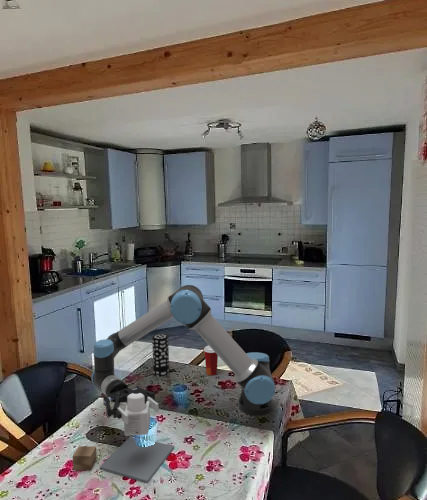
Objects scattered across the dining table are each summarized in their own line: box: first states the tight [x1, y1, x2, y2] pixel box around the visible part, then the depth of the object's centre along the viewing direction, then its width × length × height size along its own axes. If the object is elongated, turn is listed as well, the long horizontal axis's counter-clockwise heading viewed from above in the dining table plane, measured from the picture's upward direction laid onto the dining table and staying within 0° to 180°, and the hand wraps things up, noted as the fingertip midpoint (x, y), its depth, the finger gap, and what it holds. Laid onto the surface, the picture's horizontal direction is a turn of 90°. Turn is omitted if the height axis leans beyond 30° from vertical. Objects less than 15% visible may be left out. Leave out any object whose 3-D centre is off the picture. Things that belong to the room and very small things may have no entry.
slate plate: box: [99, 435, 175, 484], centre depth 123 cm, size 18×18×1 cm
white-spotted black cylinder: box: [151, 333, 170, 378], centre depth 189 cm, size 8×8×20 cm
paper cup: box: [203, 345, 219, 376], centre depth 189 cm, size 8×8×14 cm
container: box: [123, 388, 151, 437], centre depth 121 cm, size 8×8×13 cm
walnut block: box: [72, 445, 98, 471], centre depth 120 cm, size 6×5×5 cm
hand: (142, 413), depth 118 cm, fingers closed on container, 10 cm apart
